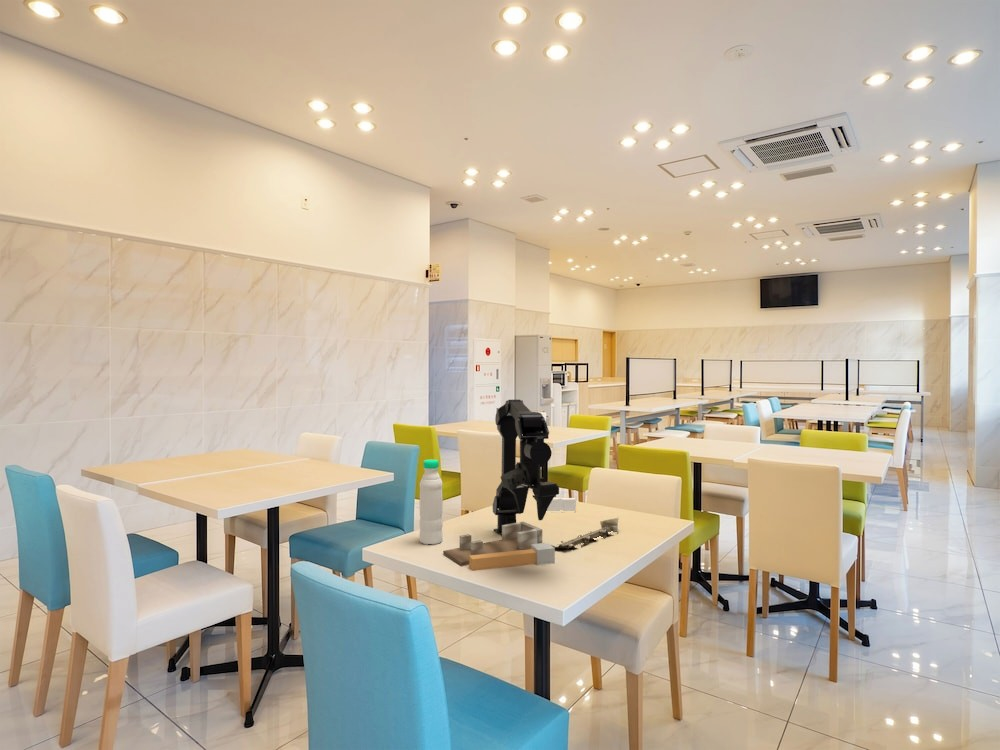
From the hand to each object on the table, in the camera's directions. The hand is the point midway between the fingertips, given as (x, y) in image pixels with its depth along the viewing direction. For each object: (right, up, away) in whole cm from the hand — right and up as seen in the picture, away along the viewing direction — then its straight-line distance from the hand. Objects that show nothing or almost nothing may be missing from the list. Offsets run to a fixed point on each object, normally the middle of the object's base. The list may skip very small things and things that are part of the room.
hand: (530, 516), depth 147 cm
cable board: (-11, -13, +9) cm, 19 cm away
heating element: (+18, -13, +21) cm, 31 cm away
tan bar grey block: (-6, -13, 0) cm, 14 cm away
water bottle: (-30, -13, +19) cm, 37 cm away
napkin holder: (+14, -13, +54) cm, 57 cm away
